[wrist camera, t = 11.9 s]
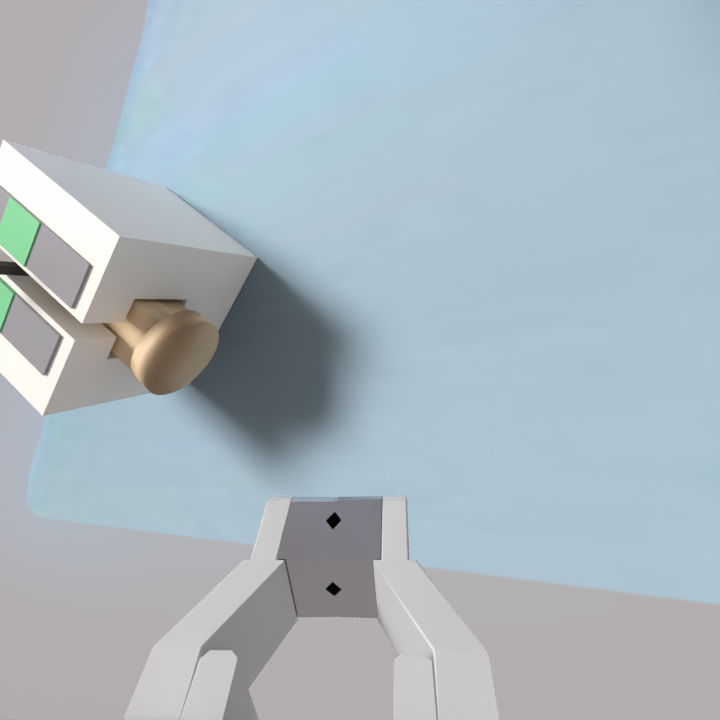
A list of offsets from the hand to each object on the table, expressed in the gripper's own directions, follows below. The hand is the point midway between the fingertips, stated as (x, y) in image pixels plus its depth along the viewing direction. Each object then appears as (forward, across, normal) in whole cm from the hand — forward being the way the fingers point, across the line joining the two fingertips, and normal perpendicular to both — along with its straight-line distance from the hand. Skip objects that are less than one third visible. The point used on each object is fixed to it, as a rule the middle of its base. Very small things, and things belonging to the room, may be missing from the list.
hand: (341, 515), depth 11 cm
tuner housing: (+32, +17, +7) cm, 37 cm away
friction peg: (+26, +17, +6) cm, 32 cm away
